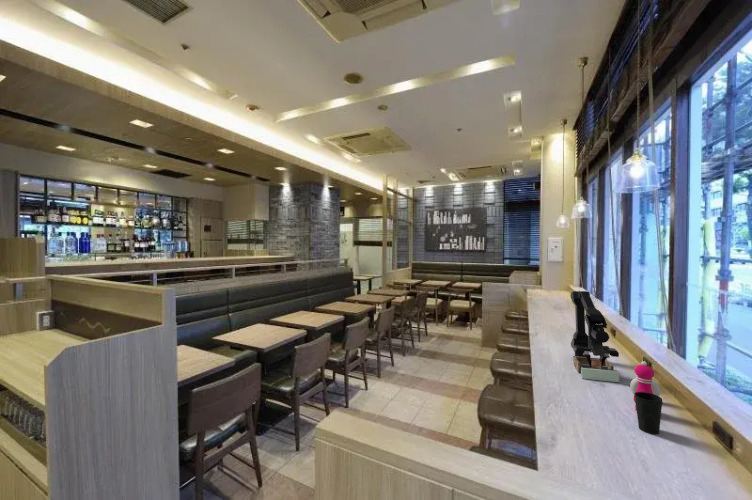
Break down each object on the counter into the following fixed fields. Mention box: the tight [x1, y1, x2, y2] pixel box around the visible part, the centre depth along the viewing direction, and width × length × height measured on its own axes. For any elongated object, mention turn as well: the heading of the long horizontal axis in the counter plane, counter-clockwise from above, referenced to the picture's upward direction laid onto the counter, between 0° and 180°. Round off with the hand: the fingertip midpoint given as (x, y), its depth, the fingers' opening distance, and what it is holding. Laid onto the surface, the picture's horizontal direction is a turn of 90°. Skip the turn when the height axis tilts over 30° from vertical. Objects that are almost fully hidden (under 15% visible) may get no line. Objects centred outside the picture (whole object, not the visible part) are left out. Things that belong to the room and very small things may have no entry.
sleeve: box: [572, 355, 615, 374], centre depth 172 cm, size 12×15×5 cm
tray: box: [580, 364, 620, 383], centre depth 164 cm, size 12×15×5 cm
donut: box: [629, 377, 661, 397], centre depth 138 cm, size 10×3×10 cm, turn 59°
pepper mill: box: [633, 360, 655, 412], centre depth 128 cm, size 7×7×20 cm
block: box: [590, 359, 601, 370], centre depth 166 cm, size 4×4×5 cm
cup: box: [633, 392, 663, 435], centre depth 116 cm, size 8×8×12 cm
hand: (595, 367), depth 166 cm, fingers closed on block, 4 cm apart
